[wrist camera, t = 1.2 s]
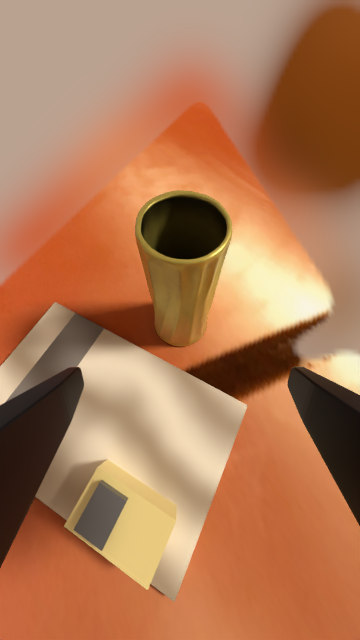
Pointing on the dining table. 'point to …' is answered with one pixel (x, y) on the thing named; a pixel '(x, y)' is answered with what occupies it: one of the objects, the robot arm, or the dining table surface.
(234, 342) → the dining table surface
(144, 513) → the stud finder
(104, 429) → the subfloor panel
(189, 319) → the vase
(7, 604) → the dining table surface
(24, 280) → the dining table surface
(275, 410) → the dining table surface
